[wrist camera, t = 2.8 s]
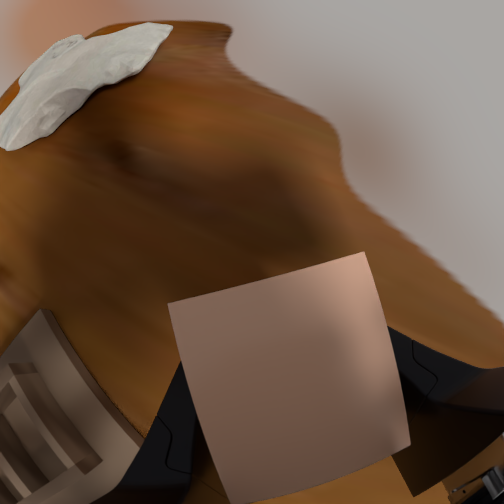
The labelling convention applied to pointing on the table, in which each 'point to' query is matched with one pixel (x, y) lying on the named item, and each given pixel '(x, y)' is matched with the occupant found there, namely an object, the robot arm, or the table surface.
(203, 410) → the clay block
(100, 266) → the table surface
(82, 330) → the table surface
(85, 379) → the rack
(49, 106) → the rock
